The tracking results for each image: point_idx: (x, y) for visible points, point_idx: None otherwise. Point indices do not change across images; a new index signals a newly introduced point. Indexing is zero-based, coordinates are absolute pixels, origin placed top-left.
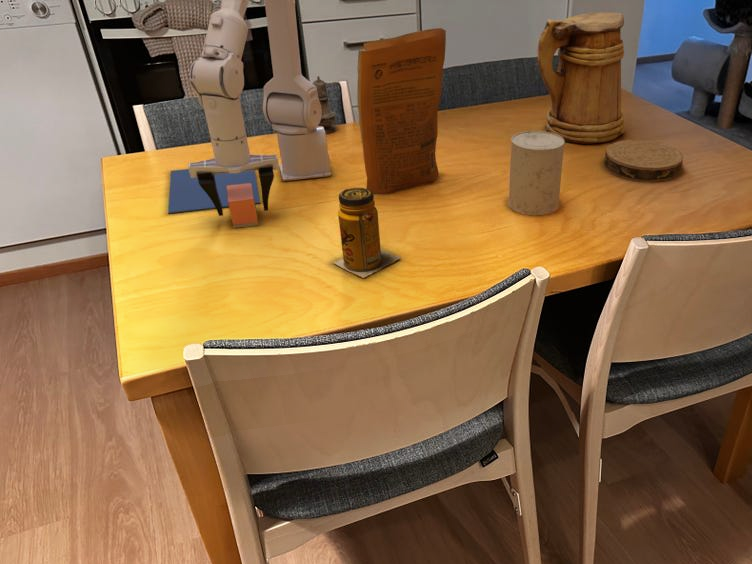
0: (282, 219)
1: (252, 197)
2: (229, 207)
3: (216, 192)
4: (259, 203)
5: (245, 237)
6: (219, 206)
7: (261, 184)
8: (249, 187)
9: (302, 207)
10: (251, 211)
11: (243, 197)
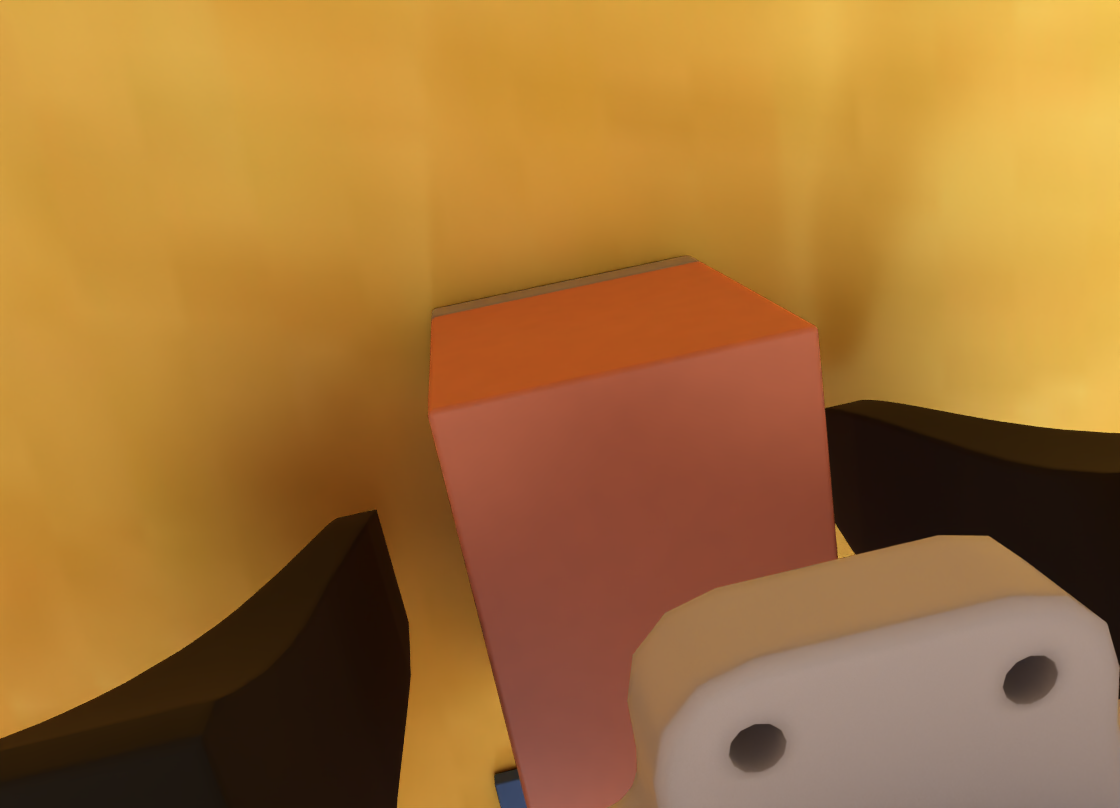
0: (188, 445)
1: (452, 463)
2: (778, 308)
3: (1029, 487)
4: (500, 774)
5: (534, 8)
6: (901, 422)
7: (261, 668)
8: (554, 789)
9: (32, 710)
10: (484, 339)
11: (595, 465)
